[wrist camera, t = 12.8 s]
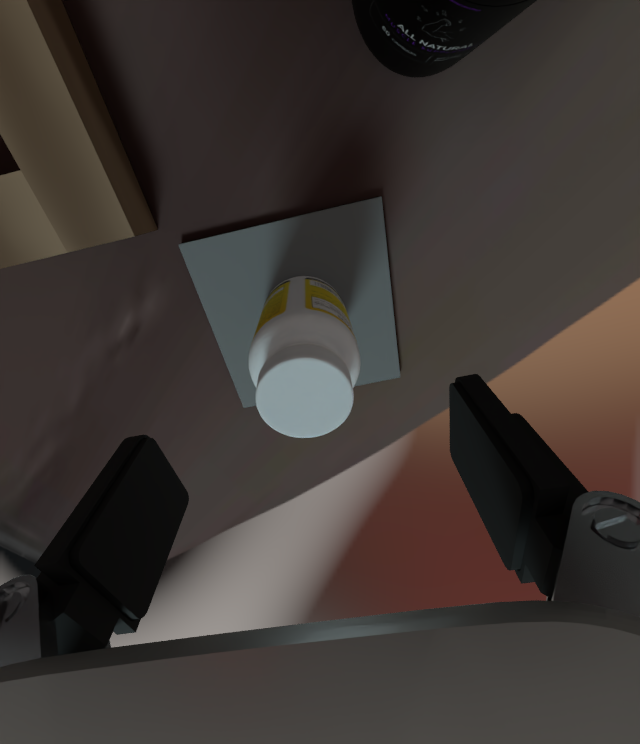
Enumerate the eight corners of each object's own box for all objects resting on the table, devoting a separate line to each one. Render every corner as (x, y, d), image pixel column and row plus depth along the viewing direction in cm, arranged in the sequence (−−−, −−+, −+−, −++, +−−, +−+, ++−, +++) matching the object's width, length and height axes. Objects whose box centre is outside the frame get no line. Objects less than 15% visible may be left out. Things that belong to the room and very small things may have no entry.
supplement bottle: (270, 356, 23) (249, 456, 15) (256, 278, 20) (220, 345, 12) (347, 349, 23) (371, 445, 14) (343, 270, 20) (370, 330, 12)
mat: (379, 196, 19) (381, 196, 18) (398, 373, 25) (400, 377, 24) (181, 243, 20) (178, 244, 19) (244, 404, 26) (243, 407, 25)
